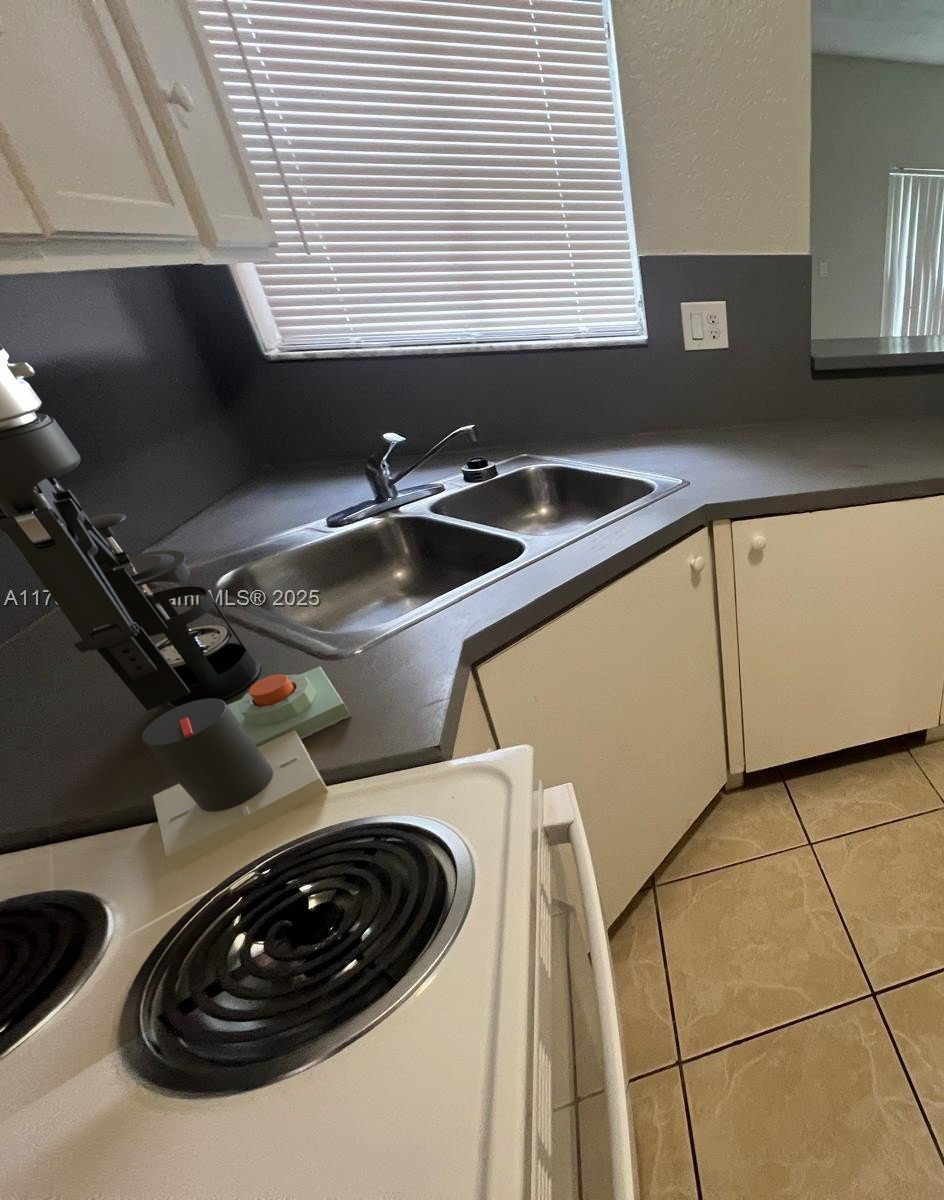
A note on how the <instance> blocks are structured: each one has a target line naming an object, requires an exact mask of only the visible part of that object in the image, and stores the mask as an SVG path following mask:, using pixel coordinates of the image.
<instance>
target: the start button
mask: <svg viewBox="0 0 944 1200" xmlns="http://www.w3.org/2000/svg"><path fill="white" fill-rule="evenodd" d="M248 689H249V690H248V692H249V693H250V695H251V696H252V698H253V699H254V701H255V702H256V704H257V705H258V706H261V707H263V706H268V705H273V704H275V703H278V702H280V701H282V700H284V699H286V698H287V697H288V696H290V695H291V694H293V693H294V690H295V689H294V687H293V685H292V683H291V682H290V680H289V679H288V677H287V675H286V674H282V673H281V674H280V673H279V674H272V675H269V676H266V677H263V678H261V679H259V680H256V681H255V682H254V683H253V684H252V685H251V686H250V687H249V688H248Z"/></svg>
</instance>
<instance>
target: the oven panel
mask: <svg viewBox="0 0 944 1200" xmlns="http://www.w3.org/2000/svg"><path fill="white" fill-rule="evenodd" d="M302 741H303V740H301V738H300V737H299V735H298V734H297V732H296V731H295V730H294V731H292V732H290V733H287V734H285V735H283V736H281V737H279V738H277V739H274V740H272V741H270V742H268V743H266V744H264V745H261V746H259V747H257V748H258V749H259V751H260V752H261V753H262V755H263V756H264V758H265V759H266V760H267V762H268V763H269V765H270V766H271V767H272V769H273V775H272V778H271V780H270V782H269V783H268V784H267V786H266V787H265V788H264V789H263V790H262V791H260V792H259V793H258V794H257V795H255V796H254V797H252V798H251V799H249V800H247V801H246V802H244V803H242V804H240V805H237V806H235V807H232V808H229V809H226V810H221V811H205V810H203V809H201V808H200V807H199V806H198V804H197V803H196V802H195V801H194V800H193V799H192V798H191V796H190V795H189V794H188V793H187V792H186V791H185V789H184V788H183V787H182V786H181V785H180V784H179V783H177V784H175V785H173V786H171V787H169V788H166V789H164V790H162V791H160V792H158V793H156V794H153V795H152V798H153V803H154V808H155V813H156V817H157V822H158V827H159V831H160V837H161V841H162V846H163V851H164V855H165V858H166V859H167V860H168V861H169V862H170V863H171V864H172V865H173V866H174V868H176V869H177V870H178V871H179V870H182V869H184V868H185V867H187V866H189V865H191V864H193V863H195V862H197V861H198V860H200V859H202V858H204V857H206V856H208V855H210V854H212V853H213V852H216V851H218V850H219V849H221V848H222V847H225V846H227V845H229V844H231V843H233V842H235V841H236V840H238V839H241V838H243V837H244V836H246V835H248V834H250V833H252V832H254V831H256V830H258V829H260V828H261V827H263V826H265V825H267V824H269V823H271V822H273V821H274V820H277V819H278V818H280V817H282V816H284V815H286V814H288V813H290V812H291V811H293V810H296V809H297V808H299V807H301V806H303V805H305V804H307V803H309V802H311V801H312V800H314V799H316V798H318V797H320V796H322V795H324V794H327V792H329V789H328V787H327V785H326V783H325V782H324V780H323V777H322V776H321V774H320V772H319V770H318V768H317V766H316V764H315V762H314V760H313V759H312V760H313V761H312V760H311V758H312V757H311V758H310V756H311V755H310V753H309V751H308V749H307V747H306V745H305V743H304V741H303V742H302ZM303 743H304V744H303ZM304 745H305V746H304ZM305 747H306V748H305ZM306 749H307V750H306ZM307 751H308V752H307ZM308 753H309V754H308ZM309 755H310V756H309ZM313 762H314V763H313ZM314 764H315V765H314ZM315 766H316V767H315ZM316 768H317V769H316ZM317 770H318V771H317Z"/></svg>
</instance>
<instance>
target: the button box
mask: <svg viewBox="0 0 944 1200" xmlns="http://www.w3.org/2000/svg"><path fill="white" fill-rule="evenodd" d="M286 676H287V677H288V679H289V680H290V682H291V683H292V685H293V687H294V689H295V690H294V693H293V694H291V695H290V696H288V697H287V698H286V699H284V700H282V701H280V702H278V703H275V704H273V705H268V706H263V707H261V706H258V705H257V704H256V702H255V701H254V699H253V698H252V696H251V695H250V693H249V691H247V692H246V693H245V694H244V695H243V697H242V698H240V699H238V700H236V701H234V702H231V703H228V704H226V705H227V706H228V708H229V709H230V711H231V712H232V713H233V715H234V716H235V717H236V719H237V720H238V722H239V723H240V724H241V726H242V727H243V729H244V730H245V731H246V733H247V734H248V735H249V737H250V738H251V740H252V741H253V742H254V744H255V745H256V747H259V746H261V745H264V744H266V743H268V742H270V741H272V740H274V739H277V738H279V737H281V736H283V735H285V734H287V733H290V732H292V731H294V730H295V731H296V732H297V734H298V735H299V737H301V736H303V735H305V734H306V733H309V732H310V731H313V730H314V729H317V728H319V727H321V726H323V725H325V724H328V723H330V722H332V721H334V720H337V719H338V718H341V717H343V716H346V715H348V714H351V712H350V711H349V710H348V708H347V706H346V704H345V703H344V701H343V699H342V698H341V696H340V695H339V693H338V691H337V690H336V688H335V686H334V685H333V684H332V682H331V681H330V679H329V678H328V676H327V674H326V673H325V671H324V670H323V669H322V667H321V666H320V665H319V666H317V667H315V668H312V669H310V670H307V671H304V672H303V673H300V674H287V675H286Z"/></svg>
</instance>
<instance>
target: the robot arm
mask: <svg viewBox="0 0 944 1200" xmlns="http://www.w3.org/2000/svg"><path fill="white" fill-rule="evenodd" d="M9 358H10V355H9V354H8V352H7V351H6V350H5V348H4V347H3V345H2V343H1V342H0V530H1V532H3V533H4V534H6V535H7V536H8V537H9V539H10V540H11V541H12V543H13V544H14V545H15V546H16V548H17V549H18V550H19V551H20V553H21V554H22V556H23V557H24V558H25V560H26V561H27V563H28V564H29V566H30V567H31V568H32V570H33V571H34V573H35V574H36V576H37V577H38V579H39V580H40V581H41V583H42V585H43V586H44V587H45V588H46V590H47V591H48V593H49V595H50V596H51V597H52V599H53V600H54V601H55V603H56V605H57V606H58V607H59V609H60V610H61V611H62V613H63V615H64V616H65V618H66V619H67V620H68V622H69V623H70V624H71V626H72V627H73V629H74V630H75V632H76V633H77V635H78V636H79V637H80V639H81V640H80V641H77V642H74V643H73V645H74V647H75V648H76V649H77V651H79V652H80V653H81V654H83V653H86V652H89V651H92V652H93V651H97V652H98V653H99V654H100V655H101V657H102V658H103V659H104V660H105V662H106V663H107V664H108V665H109V666H110V668H111V669H112V670H113V671H114V672H115V674H116V675H117V676H118V677H119V679H120V680H121V681H122V683H124V685H125V686H126V687H127V688H128V689H129V690H130V692H131V693H132V694H133V696H135V698H136V699H137V701H138V702H139V703H140V704H141V705H142V706H143V708H144V709H145V710H146V711H151V710H153V709H156V708H158V707H161V706H163V705H165V704H167V703H168V702H171V701H173V700H176V699H178V698H181V697H183V696H186V695H188V694H190V691H189V689H188V687H187V686H188V685H185V684H184V682H183V681H182V680H181V678H180V677H179V676H178V674H177V673H176V672H175V670H174V669H173V668H172V666H171V665H170V664H169V662H168V661H167V660H166V658H165V657H164V656H163V655H162V653H161V652H160V651H159V649H158V648H157V647H156V645H155V644H156V643H155V642H154V641H153V640H152V639H151V637H152V636H151V635H153V634H156V633H159V632H162V631H165V630H168V628H167V626H166V624H165V623H164V622H163V620H162V619H161V618H160V616H159V615H158V614H157V612H156V611H155V609H154V608H153V607H152V605H151V604H150V603H149V601H148V600H147V598H146V597H145V596H144V594H143V593H144V592H142V591H141V589H140V587H139V586H137V585H136V583H135V582H134V581H133V579H132V578H131V577H130V575H129V574H128V572H127V571H126V570H125V568H121V569H118V570H115V567H118V566H122V565H125V564H129V563H132V562H131V560H130V559H129V557H130V556H128V554H127V552H125V550H122V551H123V552H120V553H118V552H116V553H115V552H114V550H115V548H114V546H113V545H112V544H111V543H108V542H107V540H106V538H103V537H102V536H101V534H100V533H99V532H98V531H97V530H96V528H95V527H94V526H93V525H92V524H91V522H90V521H89V519H90V518H89V517H88V515H87V514H86V512H84V510H83V508H82V506H81V504H80V502H79V501H78V499H77V497H76V496H75V495H74V493H73V492H72V491H71V490H70V489H66V490H64V489H63V487H62V485H60V483H59V481H58V480H57V479H56V478H58V477H61V476H64V475H65V474H68V473H69V472H70V473H71V471H73V470H75V469H76V468H77V467H78V466H79V465H80V463H81V462H82V461H81V455H80V453H79V452H78V451H77V449H76V447H75V446H74V444H73V443H72V442H71V441H70V439H69V438H68V436H67V435H66V434H65V432H64V431H63V429H62V428H61V426H60V425H59V423H58V422H57V421H56V419H55V418H54V417H52V416H49V415H48V414H45V413H38V412H37V413H36V411H38V410H39V409H40V408H41V406H42V403H43V402H42V400H41V399H40V398H39V396H38V395H37V393H36V392H35V391H34V389H33V388H32V386H31V385H30V383H29V382H27V381H26V380H24V379H25V378H31V377H34V376H35V374H36V371H35V370H34V368H33V367H32V366H31V365H29V364H28V363H27V362H20V361H17V362H14V363H9ZM110 623H115V624H112V625H109V626H108V625H107V624H110ZM149 636H150V637H149Z"/></svg>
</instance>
